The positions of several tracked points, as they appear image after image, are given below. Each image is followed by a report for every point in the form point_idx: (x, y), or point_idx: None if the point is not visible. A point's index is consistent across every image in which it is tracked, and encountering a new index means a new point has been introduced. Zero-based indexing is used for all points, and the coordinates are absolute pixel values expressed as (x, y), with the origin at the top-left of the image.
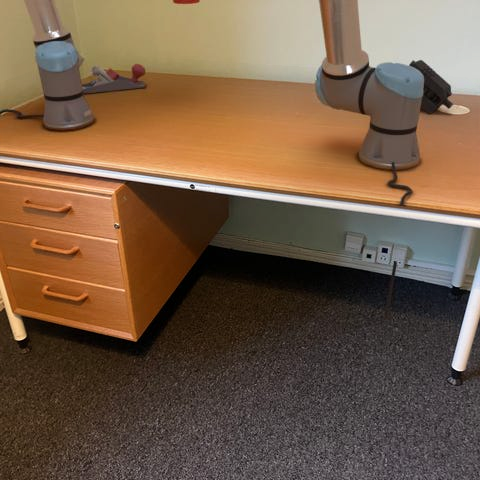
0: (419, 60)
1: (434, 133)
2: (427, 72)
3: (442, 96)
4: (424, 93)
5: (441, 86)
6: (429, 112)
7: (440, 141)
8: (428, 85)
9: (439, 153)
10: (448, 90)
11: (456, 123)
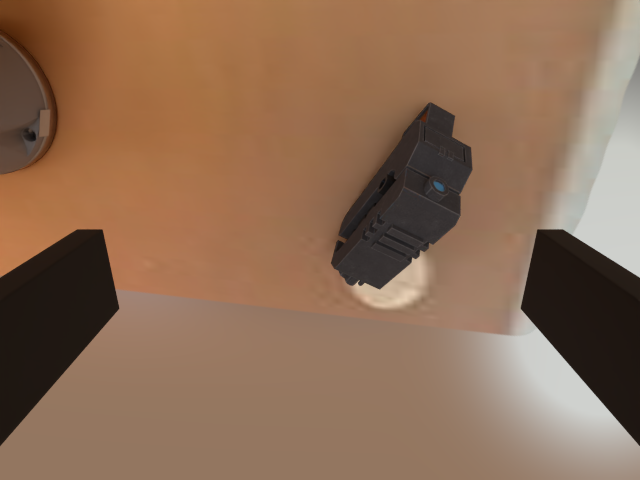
0: (451, 216)
1: (197, 217)
2: (380, 234)
3: (334, 259)
4: (367, 213)
5: (343, 264)
6: (345, 217)
7: (147, 226)
8: (358, 228)
9: (71, 218)
10: (353, 279)
11: (282, 271)
